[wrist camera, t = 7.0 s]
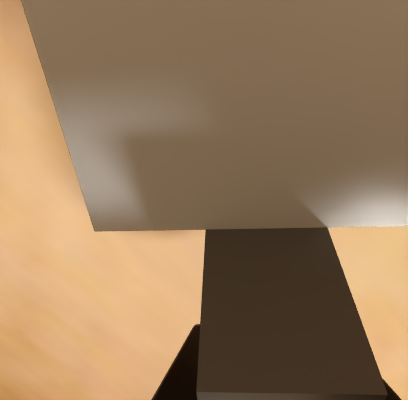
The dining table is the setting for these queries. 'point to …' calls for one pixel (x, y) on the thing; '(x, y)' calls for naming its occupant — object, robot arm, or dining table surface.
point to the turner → (243, 163)
